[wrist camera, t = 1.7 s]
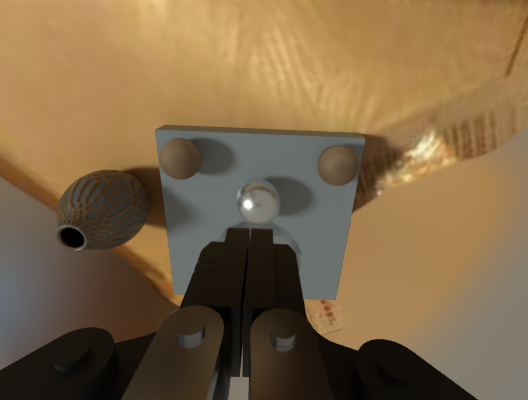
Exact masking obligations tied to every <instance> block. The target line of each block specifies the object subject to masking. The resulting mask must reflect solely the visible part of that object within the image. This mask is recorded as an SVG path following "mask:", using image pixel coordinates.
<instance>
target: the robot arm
mask: <svg viewBox="0 0 528 400" xmlns="http://www.w3.org/2000/svg"><path fill="white" fill-rule="evenodd" d="M249 246H250V247H249ZM242 346H243V373H242V374H243V375H242V376H243V377H249V396H248V398H249V400H478V399H476V398H475V397H474V396H472V395H471V394H469V393H468V392H467V391H465V390H464V389H462V388H461V387H460V386H459V385H457V384H456V383H455V382H453V381H452V380H451V379H449V378H448V377H446V376H445V375H444V374H442V373H441V372H440V371H438V370H436V368H434V367H433V366H432V365H430V364H429V363H427V362H426V361H425V360H423V359H422V358H421V357H419V356H418V355H416V354H415V353H414V352H413V351H411V350H410V349H408V348H407V347H405V346H403V345H401V344H399V343H396V342H393V341H390V340H384V339H375V340H370V341H368V342H366V343H364V344H363V345H362V346H361V347H360V348H359V350H354V349H351V348H348V347H345V346H342V345H339V344H336V343H334V342H331V341H329V340H327V339H326V338H324V337H323V336H321V335H320V334H319V333H317V332H316V331H315V330H314V329H313V327H312V325H311V323H310V322H309V321H308V319H307V316H306V312H305V305H304V299H303V293H302V287H301V281H300V276H299V269H298V263H297V257H296V253H295V252H294V251H293V249H292V248H291V247H290V246H289V245H288V244H273V229H262V228H251V237H250V228H235V227H228V229H227V233H226V237H225V240H224V242H216V241H211V242H210V243H209V244H208V245H207V246H206V247H204V248H203V249H202V250H201V253H200V255H199V258H198V262H197V263H196V266H195V269H194V272H193V274H192V277H191V279H190V282H189V285H188V287H187V290H186V292H185V295H184V298H183V300H182V303H181V306H180V308H179V310H177V311H175V312H173V313H172V314H170V315H169V316H168V317H167V318H165V320H164V321H163V322H162V323H161V325H160V327H159V328H158V330H157V331H156V332H154V333H152V334H149V335H147V336H143V337H139V338H135V339H131V340H126V341H122V342H118V343H114V340H113V337H112V335H111V334H110V333H109V332H108V331H106V330H104V329H100V328H95V327H90V328H82V329H78V330H74V331H72V332H69V333H67V334H65V335H62V336H61V337H59V338H57V339H55V340H53V341H51V342H50V343H48V344H46V345H45V346H43V347H41V348H39V349H37V350H35V351H34V352H32V353H30V354H28V355H27V356H25V357H23V358H21V359H20V360H18V361H16V362H14V363H12V364H11V365H9V366H7V367H5V368H3V369H2V370H0V400H228V395H229V387H230V378H231V377H240V368H241V357H242Z"/></svg>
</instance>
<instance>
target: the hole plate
mask: <svg viewBox="0 0 528 400" xmlns="http://www.w3.org/2000/svg"><path fill="white" fill-rule="evenodd" d="M155 134H156V142H157V151H158V159H159V153H160V150H161V148H162V146H163V145H164V144H165V143H166V142H168V141H169V140H172V139H175V138H184V139H187V140H189V141H191V142H193V143H194V144H195V145H196V146H197V147H198V149H199V150H200V153H201V156H202V163H201V167H200V169H199V171H198V172H197V173H196V174H195V175H194V176H193V177H191V178H188V179H184V180H178V179H174V178H171V177H170V176H168V175H167V174H166V173H165V172H164V171H163V170H162V168H161V166H160V164H159V168H160V176H161V185H162V194H163V202H164V211H165V219H166V228H167V236H168V245H169V253H170V262H171V271H172V279H173V288H174V294H185V292H186V290H187V287H188V285H189V282H190V279H191V277H192V274H193V272H194V269H195V266H196V263H197V262H198V258H199V255H200V253H201V250H202V249H203V248H204V247H206V246H207V245H208V244H209V243H210V242H211V241H216V242H224V240H225V237H226V233H227V229H228V227H235V228H250V237H251V228H262V229H273V244H288V245H289V246H290V247H291V248H292V249H293V251H294V252H295V253H296V257H297V263H298V269H299V276H300V281H301V287H302V293H303V299H320V300H336V296H337V290H338V285H339V280H340V274H341V269H342V263H343V258H344V253H345V247H346V242H347V236H348V231H349V226H350V220H351V215H352V210H353V204H354V199H355V193H356V188H357V183H358V177H359V172H360V166H361V161H362V156H363V150H364V145H365V140H366V138H364V137H363V136H361V135H360V134H358V133H346V132H321V131H297V130H273V129H249V128H225V127H201V126H176V125H164V126H162V127H160V128H158V129H155ZM333 145H345V146H348V147H349V148H351V149H352V150H353V151H354V152H355V153H356V154H357V156H358V159H359V171H358V173H357V175H356V177H355V178H354V179H353V180H352V181H351V182H349V183H348V184H345V185H342V186H333V185H330V184H328V183H326V182H324V181H323V180H322V179H321V177H320V176H319V174H318V171H317V161H318V158H319V156H320V154H321V153H322V152H323V151H324V150H325V149H326V148H328V147H330V146H333ZM255 179H261V180H265V181H268V182H270V183H271V184H273V185H274V186H275V187H276V189H277V190H278V192H279V194H280V197H281V208H280V211H279V213H278V215H277V216H276V217H275V218H274V219H273V220H272V221H271V222H269V223H267V224H264V225H251V224H249V223H247V222H245V221H244V220H242V219H241V217H240V216H239V215H238V213H237V211H236V207H235V197H236V194H237V192H238V190H239V189H240V187H241V186H242V185H243V184H245V183H246V182H248V181H251V180H255Z"/></svg>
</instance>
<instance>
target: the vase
mask: <svg viewBox="0 0 528 400" xmlns="http://www.w3.org/2000/svg"><path fill="white" fill-rule="evenodd" d="M149 209H150V201H149V196H148V193H147V191H146V189H145V187H144V186H143V185H142V183H141V182H140V181H139V180H138V179H136V178H135V177H133V176H132V175H130V174H128V173H125V172H122V171H117V170H101V171H96V172H92V173H90V174H87V175H85V176H83V177H81V178H79V179H78V180H76V181H75V182H74V183H73V184H71V185H70V186H69V187H68V189H67V190H66V191H65V192H64V194H63V195H62V197H61V199H60V201H59V204H58V208H57V222H58V227H57V230H56V239H57V241H58V243H60V245H62V247H64V248H65V249H67V250H70V251H74V252H78V251H83V250H86V249H87V250H107V249H112V248H115V247H118V246H120V245H122V244H124V243H126V242H127V241H129V240H130V239H132V238H133V237H134V236H135V235H136V234H137V233H138V232H139V231H140V230H141V228H142V227H143V226H144V224H145V222H146V220H147V218H148V215H149Z"/></svg>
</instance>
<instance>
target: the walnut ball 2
mask: <svg viewBox="0 0 528 400" xmlns="http://www.w3.org/2000/svg"><path fill="white" fill-rule="evenodd" d="M317 171H318V174H319V176H320V177H321V179H322V180H323V181H324V182H326V183H328V184H330V185H333V186H342V185H345V184H348V183H349V182H351V181H352V180H353V179H354V178H355V177H356V175H357V173H358V171H359V159H358V156H357V154H356V153H355V152H354V151H353V150H352V149H351V148H349V147H348V146H345V145H333V146H330V147H328V148H326V149H325V150H324V151H323V152H322V153H321V154H320V156H319V158H318V161H317Z"/></svg>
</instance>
